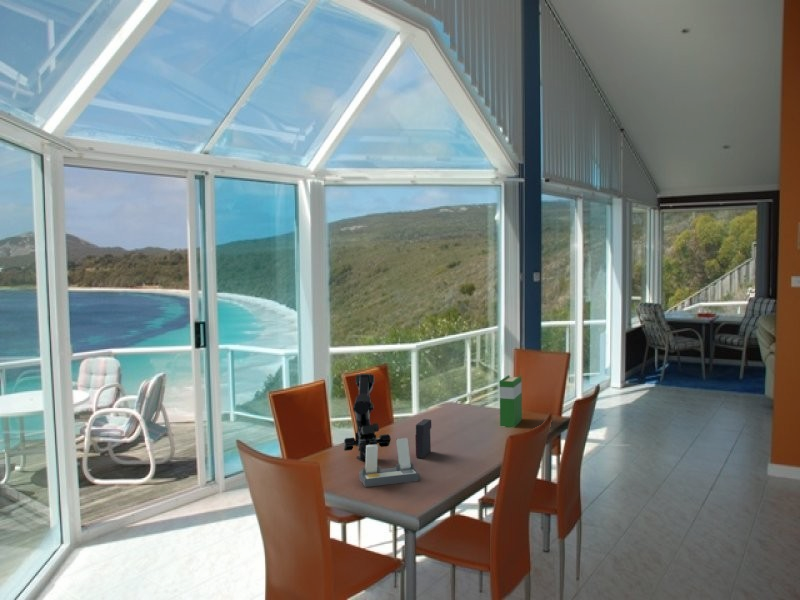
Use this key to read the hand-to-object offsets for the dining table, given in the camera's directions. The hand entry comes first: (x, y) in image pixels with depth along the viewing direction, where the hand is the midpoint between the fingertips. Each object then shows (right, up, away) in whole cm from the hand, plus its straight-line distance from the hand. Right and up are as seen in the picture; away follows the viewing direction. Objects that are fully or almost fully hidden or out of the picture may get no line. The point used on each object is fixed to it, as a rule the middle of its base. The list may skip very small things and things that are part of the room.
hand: (370, 461), depth 251 cm
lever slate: (+14, -3, +4) cm, 15 cm away
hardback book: (+71, -2, +86) cm, 111 cm away
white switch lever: (0, -4, 0) cm, 4 cm away
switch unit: (+7, -8, +2) cm, 11 cm away
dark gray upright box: (+22, -6, +33) cm, 41 cm away
